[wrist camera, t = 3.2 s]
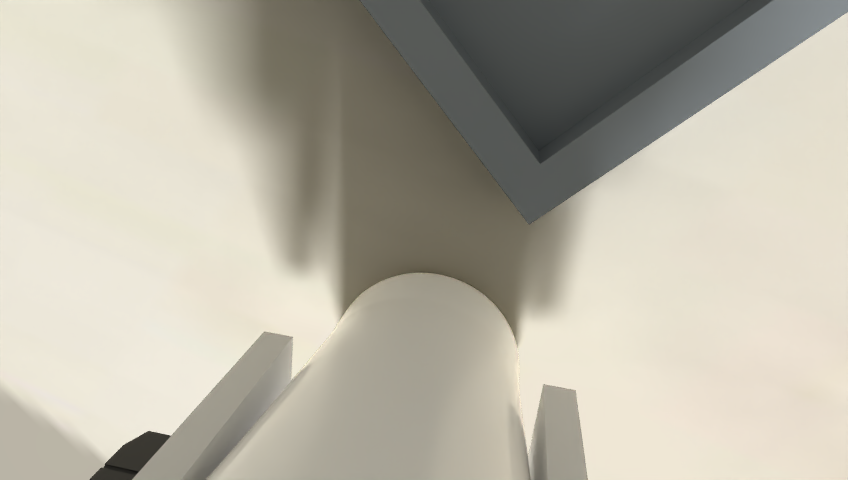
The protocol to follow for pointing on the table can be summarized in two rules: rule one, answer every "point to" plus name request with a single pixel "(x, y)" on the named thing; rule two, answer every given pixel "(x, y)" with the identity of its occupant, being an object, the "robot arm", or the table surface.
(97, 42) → the table surface
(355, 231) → the table surface
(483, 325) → the white cup
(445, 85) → the grey tray
